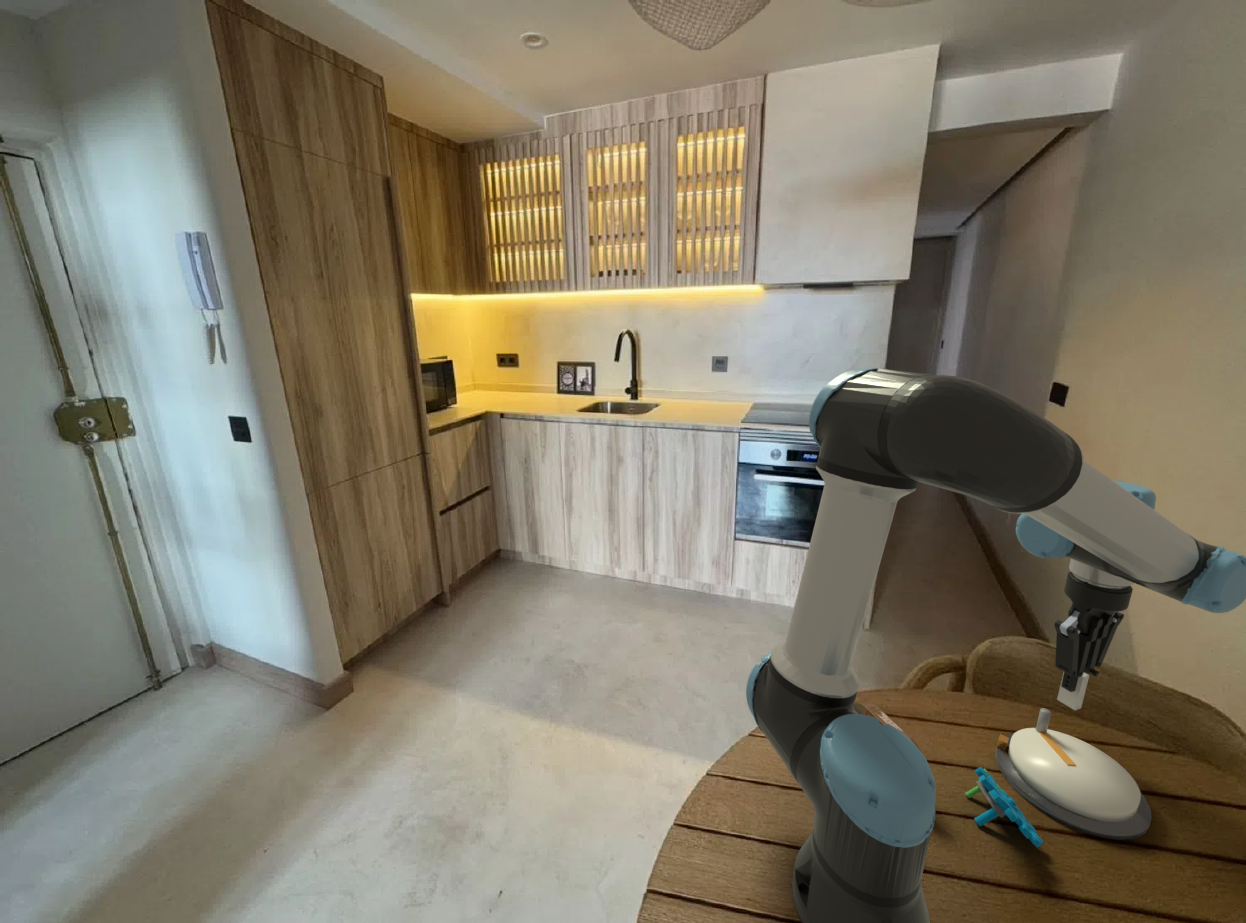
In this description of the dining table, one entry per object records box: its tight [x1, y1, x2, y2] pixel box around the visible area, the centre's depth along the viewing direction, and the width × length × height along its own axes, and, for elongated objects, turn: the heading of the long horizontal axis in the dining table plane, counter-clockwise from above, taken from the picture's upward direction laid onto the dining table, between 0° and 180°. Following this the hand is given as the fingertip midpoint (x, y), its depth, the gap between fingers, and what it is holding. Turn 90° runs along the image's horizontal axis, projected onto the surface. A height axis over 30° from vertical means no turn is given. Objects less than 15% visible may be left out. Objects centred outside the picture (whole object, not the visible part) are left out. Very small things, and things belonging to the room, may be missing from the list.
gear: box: [964, 766, 1044, 848], centre depth 71 cm, size 11×6×10 cm
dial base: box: [995, 732, 1153, 841], centre depth 77 cm, size 18×18×2 cm
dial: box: [1008, 707, 1141, 822], centre depth 76 cm, size 15×15×6 cm
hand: (1068, 703), depth 84 cm, fingers closed
